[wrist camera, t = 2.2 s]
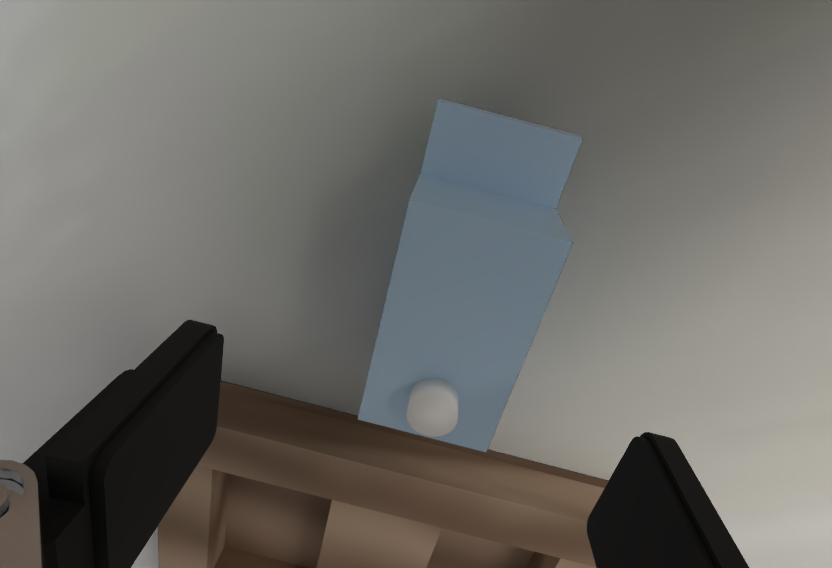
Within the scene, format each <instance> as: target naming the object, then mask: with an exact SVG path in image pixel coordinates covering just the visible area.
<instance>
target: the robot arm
mask: <svg viewBox="0 0 832 568" xmlns="http://www.w3.org/2000/svg"><path fill="white" fill-rule="evenodd" d="M223 343H224V337H223V335H222V334H218V333H217V329H216V327H215V326H213V325H209V324H205V323H201V322H197V321H193V320H187V321H186V322H184V323H183V324H182V325H181V326H180V327H179V328H178V329H177V330H176V331H175V332H174V333H173V334H172V335H171V336H170V337H168V338H167V339H166V340H165V341H164V342H163V343H162V344H161V345H160V346H159V347H158V348H157V349H156V350H155V351H154V352H153V353H152V354H150V355H149V356H148V357H147V358H146V359H145V360H144V361H143V362H142V363H141V364H140V365H139V366H138V367H137V368H136V369H135V370H131V369H130V370H127V371H124V372H123V373H122V374H120V375H119V376H118V377H117V378H116V379H114V380H113V381H112V382H111V383H110V384H109V385H108V386H107V387H106V388H105V389H104V390H102V391H101V392H100V393H99V394H98V395H97V396H96V397H95V398H94V399H93V400H92V401H91V402H89V403H88V404H87V405H86V406H85V407H84V408H83V409H82V410H81V411H80V412H79V413H77V414H76V415H75V416H74V417H73V418H72V419H71V420H70V421H69V422H68V423H67V424H65V425H64V426H63V427H62V428H61V429H60V430H59V431H58V432H57V433H56V434H55V435H53V436H52V437H51V438H50V439H49V440H48V441H47V442H46V443H45V444H44V445H43V446H41V447H40V448H39V449H38V450H37V451H36V452H35V453H34V454H33V455H32V456H31V457H29V458H28V459H27V460H26V461H25V462H24V463H23V464H22V463H18V462H15V461H8V460H0V568H131V566H132V565H133V563H134V562H135V560H136V558H137V557H138V555H139V554H140V552H141V551H142V549H143V548H144V546H145V545H146V543H147V542H148V540H149V538H150V537H151V535H152V534H153V532H154V531H155V529H156V528H157V526H158V525H159V523H160V522H161V520H162V518H163V517H164V515H165V514H166V512H167V511H168V509H169V508H170V506H171V505H172V503H173V502H174V500H175V498H176V497H177V495H178V494H179V492H180V491H181V489H182V488H183V486H184V485H185V483H186V482H187V480H188V478H189V477H190V475H191V474H192V472H193V471H194V469H195V468H196V466H197V465H198V463H199V462H200V460H201V459H202V457H203V455H204V454H205V452H206V451H207V449H208V448H209V446H210V445H211V443H212V441H213V439H214V436H215V433H216V430H217V420H218V407H219V394H220V381H221V369H222V356H223ZM587 535H588V539H589V542H590V546H591V549H592V553H593V557H594V560H595V564H596V568H749V567H748V565H747V563H746V561H745V560H744V558H743V556H742V554H741V553H740V551H739V549H738V548H737V546H736V544H735V542H734V541H733V539H732V537H731V535H730V534H729V532H728V530H727V529H726V527H725V525H724V523H723V522H722V520H721V518H720V516H719V515H718V513H717V511H716V510H715V508H714V506H713V504H712V503H711V501H710V499H709V497H708V496H707V494H706V492H705V491H704V489H703V487H702V485H701V484H700V482H699V480H698V478H697V477H696V475H695V473H694V472H693V470H692V468H691V466H690V465H689V463H688V461H687V460H686V458H685V456H684V454H683V453H682V451H681V449H680V447H679V446H678V444H677V443H676V441H675V440H674V439H672V438H669V437H665V436H661V435H657V434H653V433H649V432H646V433H643V434H642V435H641V436H640V437H635V438H633V440H632V441H631V443H630V444H629V446H628V448H627V450H626V451H625V453H624V455H623V457H622V458H621V460H620V462H619V464H618V466H617V467H616V469H615V471H614V473H613V474H612V476H611V478H610V480H609V481H608V483H607V485H606V487H605V489H604V490H603V492H602V494H601V496H600V497H599V499H598V501H597V503H596V504H595V506H594V508H593V510H592V511H591V513H590V515H589V517H588V521H587Z"/></svg>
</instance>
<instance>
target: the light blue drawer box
mask: <svg viewBox="0 0 832 568" xmlns="http://www.w3.org/2000/svg"><path fill="white" fill-rule="evenodd" d="M582 140H583V139H582V138H581V137H579V136H578V135H577V134H573V133H569V132H566V131H562V130H558V129H554V128H551V127H547V126H543V125H539V124H535V123H532V122H528V121H524V120H520V119H516V118H513V117H509V116H505V115H501V114H497V113H494V112H490V111H486V110H482V109H478V108H475V107H471V106H467V105H463V104H459V103H456V102H452V101H448V100H444V99H441V98H439V100H438V102H437V106H436V110H435V114H434V118H433V122H432V127H431V131H430V135H429V139H428V143H427V147H426V152H425V156H424V160H423V164H422V168H421V172H420V175H419V178H418V180H417V182H416V185H415V187H414V190H413V192H412V194H411V197H410V199H409V203H408V207H407V211H406V216H405V220H404V224H403V228H402V233H401V237H400V241H399V245H398V249H397V254H396V258H395V262H394V266H393V271H392V275H391V279H390V283H389V288H388V292H387V296H386V300H385V305H384V309H383V313H382V317H381V321H380V326H379V330H378V334H377V338H376V343H375V347H374V351H373V355H372V360H371V364H370V368H369V372H368V377H367V381H366V385H365V389H364V393H363V398H362V402H361V406H360V410H359V415H358V420H362V421H366V422H370V423H374V424H378V425H382V426H385V427H389V428H393V429H397V430H401V431H405V432H409V433H413V434H417V435H420V436H424V437H428V438H432V439H436V440H440V441H444V442H448V443H452V444H455V445H459V446H463V447H467V448H471V449H475V450H479V451H483V452H486V451H487V449H488V447H489V444H490V442H491V439H492V437H493V435H494V432H495V430H496V427H497V425H498V422H499V420H500V418H501V415H502V413H503V410H504V408H505V406H506V403H507V401H508V398H509V396H510V394H511V391H512V389H513V386H514V384H515V381H516V379H517V377H518V374H519V372H520V369H521V367H522V365H523V362H524V360H525V357H526V355H527V353H528V350H529V348H530V345H531V343H532V341H533V338H534V336H535V333H536V331H537V328H538V326H539V324H540V321H541V319H542V316H543V314H544V312H545V309H546V307H547V304H548V302H549V300H550V297H551V295H552V292H553V290H554V287H555V285H556V283H557V280H558V278H559V275H560V273H561V271H562V268H563V266H564V263H565V261H566V259H567V256H568V254H569V251H570V249H571V246H572V244H573V241H572V239H571V237H570V235H569V233H568V231H567V230H566V228H565V226H564V224H563V222H562V220H561V218H560V216H559V214H558V212H557V210H556V207H557V205H558V202H559V200H560V197H561V194H562V192H563V189H564V187H565V184H566V181H567V179H568V176H569V174H570V171H571V168H572V166H573V163H574V161H575V158H576V155H577V153H578V150H579V148H580V145H581V142H582Z"/></svg>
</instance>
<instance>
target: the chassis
mask: <svg viewBox="0 0 832 568" xmlns="http://www.w3.org/2000/svg"><path fill="white" fill-rule="evenodd" d="M607 483H608V481H607V480H603V479H599V478H595V477H591V476H588V475H584V474H580V473H576V472H572V471H568V470H564V469H560V468H556V467H553V466H549V465H545V464H541V463H537V462H533V461H529V460H525V459H522V458H518V457H514V456H510V455H506V454H502V453H498V452H494V451H490V450H487V451H486V452H483V451H479V450H475V449H471V448H467V447H463V446H459V445H455V444H452V443H448V442H444V441H440V440H436V439H432V438H428V437H424V436H420V435H417V434H413V433H409V432H405V431H401V430H397V429H393V428H389V427H385V426H382V425H378V424H374V423H370V422H366V421H362V420H358V416H355V415H351V414H347V413H343V412H339V411H335V410H331V409H327V408H324V407H320V406H316V405H312V404H308V403H304V402H300V401H296V400H292V399H289V398H285V397H281V396H277V395H273V394H269V393H265V392H261V391H258V390H254V389H250V388H246V387H242V386H238V385H234V384H230V383H226V382H223V381H220V394H219V407H218V420H217V430H216V433H215V436H214V439H213V441H212V443H211V445H210V446H209V448H208V449H207V451H206V452H205V454H204V455H203V457H202V459H201V460H200V462H199V463H198V465H197V466H196V468H195V469H194V471H193V472H192V474H191V475H190V477H189V478H188V480H187V482H186V483H185V485H184V486H183V488H182V489H181V491H180V492H179V494H178V495H177V497H176V498H175V500H174V502H173V503H172V505H171V506H170V508H169V509H168V511H167V512H166V514H165V515H164V517H163V518H162V520H161V522H160V523H159V525H158V549H159V568H596V564H595V560H594V557H593V553H592V549H591V546H590V542H589V539H588V535H587V521H588V517H589V515H590V513H591V511H592V510H593V508H594V506H595V504H596V503H597V501H598V499H599V497H600V496H601V494H602V492H603V490H604V489H605V487H606V485H607Z"/></svg>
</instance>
